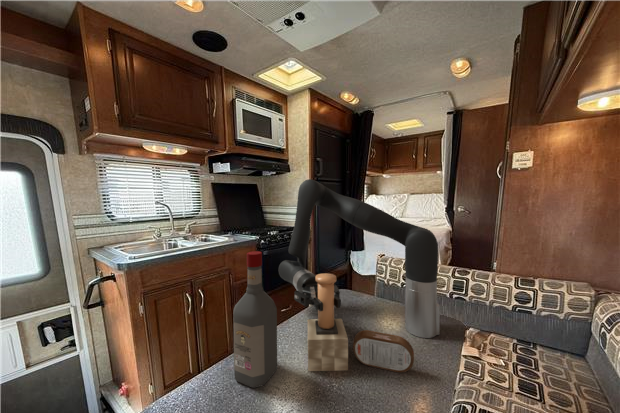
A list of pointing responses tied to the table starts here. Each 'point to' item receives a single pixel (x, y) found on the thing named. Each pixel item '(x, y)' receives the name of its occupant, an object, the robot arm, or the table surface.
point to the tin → (383, 351)
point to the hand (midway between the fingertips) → (330, 305)
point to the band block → (327, 347)
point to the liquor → (255, 329)
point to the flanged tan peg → (326, 299)
